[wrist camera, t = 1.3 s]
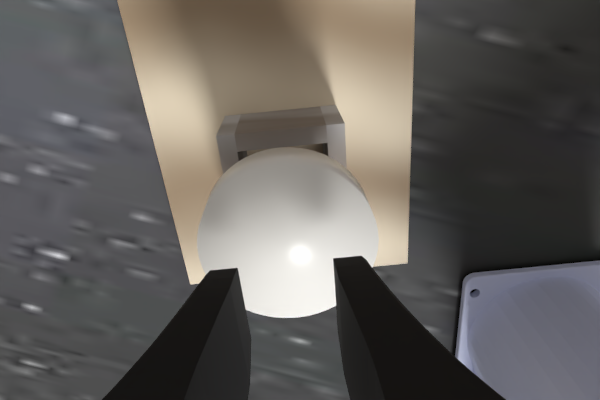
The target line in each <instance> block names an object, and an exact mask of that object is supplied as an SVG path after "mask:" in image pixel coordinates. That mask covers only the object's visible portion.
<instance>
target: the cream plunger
mask: <svg viewBox="0 0 600 400" xmlns="http://www.w3.org/2000/svg"><path fill="white" fill-rule="evenodd" d="M378 242H379V237H378V228H377V224H376V220H375V217H374V215H373V212H372V210H371V207H370V205H369V203H368V200H367V198H366V195H365V193H364V190H363V189H362V187H361V185H360V184H359V182H358V180H357V179H356V178H355V177H354V176H353V174H352V173H351V172H350V171H349V170H348V169H347V168H345V167H344V166H343V165H342V164H340V163H339V162H337V161H336V160H334V159H332V158H331V157H329V156H327V155H325V154H322V153H319V152H316V151H313V150H309V149H304V148H296V147H279V148H272V149H267V150H263V151H260V152H256V153H254V154H252V155H249V156H247V157H245V158H243V159H242V160H240V161H238V162H237V163H235V164H234V165H233V166H232V167H230V168H229V169H228V170H227V171H226V172H225V173H224V174H223V175H222V176H221V177H220V178H219V180H218V181H217V183H216V184H215V186H214V187H213V189H212V191H211V193H210V195H209V198H208V201H207V204H206V206H205V209H204V212H203V215H202V218H201V221H200V224H199V228H198V234H197V249H198V256H199V259H200V262H201V266H202V268H203V270H204V272H205V274H207V273H208V272H209V271H210V270H219V269H230V268H238V272H239V277H240V283H241V288H242V293H243V298H244V304H245V309H246V310H248V311H251V312H254V313H257V314H261V315H264V316H270V317H279V318H295V317H303V316H309V315H313V314H317V313H320V312H323V311H325V310H328V309H330V308H332V307H334V306H336V294H335V279H334V264H333V258H342V257H353V256H362V257H364V258H365V259H366V260H367V261H368V263H369V264H370V265H371V267H372V268H373V265H374V262H375V260H376V256H377V252H378Z"/></svg>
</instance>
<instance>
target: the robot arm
mask: <svg viewBox="0 0 600 400" xmlns="http://www.w3.org/2000/svg"><path fill="white" fill-rule="evenodd" d="M333 264H334V279H335V294H336V310H337V325H338V335H339V342H340V349H341V356H342V363H343V370H344V375H345V380H346V384H347V388H348V392H349V396H350V400H600V260H599V261H589V262H579V263H568V264H558V265H548V266H538V267H527V268H517V269H507V270H496V271H486V272H476V273H471V274H469V275H467V276H466V277H465V278H464V280H463V285H462V295H461V305H460V314H459V324H458V334H457V343H456V353H455V356H454V355H453V354H452V353H450V352H449V351H448V350H447V349H446V348H445V347H444V346H443V345H442V344H441V343H440V342H439V341H438V340H437V339H436V338H435V337H434V336H433V335H432V334H431V333H430V332H429V331H428V330H427V329H426V328H425V327H424V326H423V325H422V324H421V323H420V322H419V321H418V320H417V319H416V318H415V317H414V316H413V315H412V314H411V313H410V312H409V311H408V310H407V308H406V307H405V306H404V305H403V304H402V303H401V302H400V301H399V300H398V299H397V297H396V296H395V295H394V294H393V293H392V292H391V291H390V289H389V288H388V287H387V286H386V285H385V283H384V282H383V281H382V280H381V278H380V277H379V276H378V275H377V273H376V272H375V271H374V269H373V268H372V267H371V265H370V264H369V263H368V261H367V260H366V259H365V258H364V257H362V256H353V257H342V258H333ZM474 289H476V290H475V291H474V292H471V291H472V290H474ZM470 292H471V293H470ZM250 366H251V335H250V330H249V325H248V319H247V314H246V309H245V304H244V298H243V293H242V288H241V283H240V277H239V272H238V268H230V269H219V270H210V271H209V272H208V273H207V274H206V275H205V277H204V278H203V279H202V280H201V282H200V283H199V284H198V286H197V287H196V289H195V290H194V291H193V293H192V294H191V295H190V297H189V298H188V299H187V301H186V302H185V303H184V305H183V306H182V307H181V308H180V310H179V311H178V312H177V314H176V315H175V316H174V318H173V319H172V320H171V321H170V323H169V324H168V325H167V326H166V328H165V329H164V330H163V331H162V332H161V334H160V335H159V336H158V337H157V339H156V340H155V341H154V342H153V344H152V345H151V346H150V347H149V348H148V350H147V351H146V352H145V353H144V354H143V355H142V356H141V357H140V359H139V360H138V361H137V362H136V363H135V364H134V365H133V367H132V368H131V369H130V370H129V371H128V372H127V373H126V374H125V376H124V377H123V378H122V379H121V380H120V381H119V382H118V383H117V384H116V386H115V387H114V388H113V389H112V390H111V391H110V392H109V393H108V394H107V395H106V396H105V397H104V398H103V399H102V400H248V394H249V386H250Z"/></svg>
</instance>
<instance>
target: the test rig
mask: <svg viewBox="0 0 600 400" xmlns="http://www.w3.org/2000/svg"><path fill="white" fill-rule="evenodd" d="M117 1H118V5H119V9H120V12H121V16H122V20H123V24H124V28H125V32H126V36H127V40H128V44H129V47H130V51H131V55H132V59H133V63H134V67H135V71H136V75H137V79H138V82H139V86H140V90H141V94H142V98H143V102H144V106H145V110H146V114H147V117H148V121H149V125H150V129H151V133H152V137H153V141H154V145H155V149H156V152H157V156H158V160H159V164H160V168H161V172H162V176H163V180H164V183H165V187H166V191H167V195H168V199H169V203H170V207H171V211H172V215H173V218H174V222H175V226H176V230H177V234H178V238H179V242H180V246H181V250H182V253H183V257H184V261H185V265H186V269H187V273H188V277H189V281H190V284H199V283H200V282H201V280H202V279H203V278H204V277H205V275H206V274H205V272H204V270H203V268H202V266H201V262H200V259H199V256H198V249H197V234H198V228H199V224H200V221H201V218H202V215H203V212H204V209H205V206H206V204H207V201H208V198H209V195H210V193H211V191H212V189H213V187H214V186H215V184H216V183H217V181H218V180H219V178H220V177H221V176H222V175H223V174H224V173H225V172H226V171H227V170H228V169H229V168H230V167H232V166H233V165H234V164H235V163H237V162H238V161H240V160H242V159H243V158H245V157H247V156H249V155H252V154H254V153H256V152H260V151H263V150H267V149H272V148H279V147H296V148H304V149H309V150H313V151H316V152H319V153H322V154H325V155H327V156H329V157H331V158H332V159H334V160H336V161H337V162H339V163H340V164H342V165H343V166H344V167H345V168H347V169H348V170H349V171H350V172H351V173H352V174H353V176H354V177H355V178H356V179H357V180H358V182H359V184H360V185H361V187H362V189H363V190H364V193H365V195H366V198H367V200H368V203H369V205H370V207H371V210H372V212H373V215H374V217H375V220H376V224H377V228H378V237H379V242H378V252H377V256H376V260H375V262H374V265H373V267H374V266H384V265H395V264H405V263H408V229H409V196H410V162H411V128H412V94H413V60H414V26H415V0H117Z"/></svg>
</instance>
